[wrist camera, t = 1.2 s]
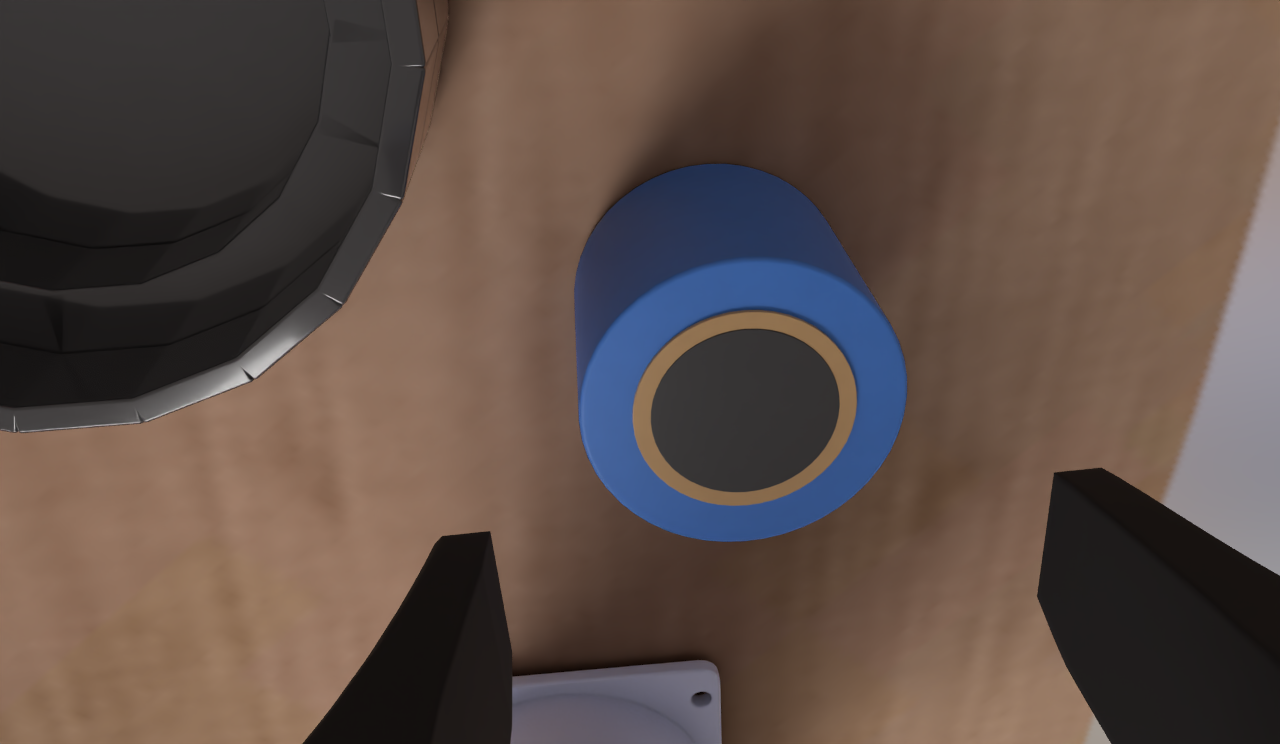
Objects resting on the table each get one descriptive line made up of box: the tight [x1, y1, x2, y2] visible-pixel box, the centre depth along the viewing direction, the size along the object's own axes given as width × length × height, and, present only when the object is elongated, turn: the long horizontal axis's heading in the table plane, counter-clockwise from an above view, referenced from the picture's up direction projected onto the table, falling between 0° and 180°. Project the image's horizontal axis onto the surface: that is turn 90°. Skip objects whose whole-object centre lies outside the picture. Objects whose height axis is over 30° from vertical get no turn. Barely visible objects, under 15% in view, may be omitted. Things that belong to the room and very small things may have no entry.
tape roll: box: [574, 164, 907, 542], centre depth 20 cm, size 6×6×5 cm
